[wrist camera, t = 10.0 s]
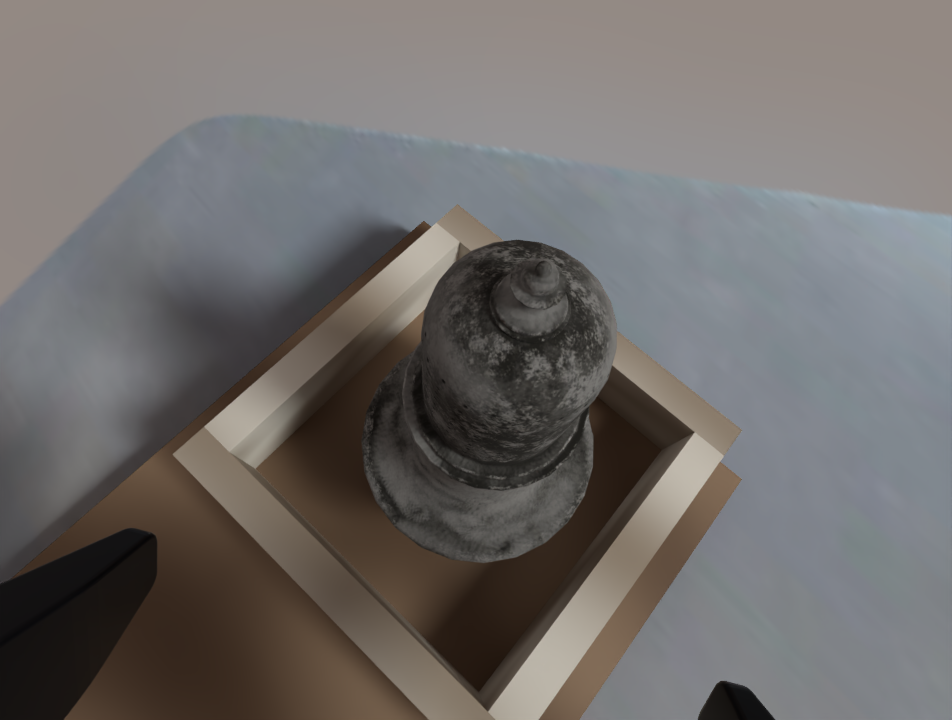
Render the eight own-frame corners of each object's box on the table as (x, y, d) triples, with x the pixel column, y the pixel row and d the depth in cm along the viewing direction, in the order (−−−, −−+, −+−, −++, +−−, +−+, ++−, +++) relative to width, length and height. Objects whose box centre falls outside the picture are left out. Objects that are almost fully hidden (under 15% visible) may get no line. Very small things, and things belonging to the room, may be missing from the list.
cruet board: (331, 1054, 13) (299, 1217, 10) (-15, 626, 16) (-134, 639, 12) (723, 485, 19) (786, 465, 16) (423, 239, 22) (423, 177, 18)
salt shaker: (349, 538, 16) (178, 457, 5) (403, 357, 18) (367, 25, 7) (544, 587, 16) (800, 611, 5) (576, 399, 18) (803, 129, 7)
